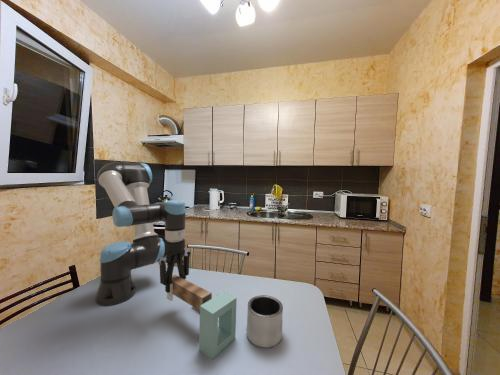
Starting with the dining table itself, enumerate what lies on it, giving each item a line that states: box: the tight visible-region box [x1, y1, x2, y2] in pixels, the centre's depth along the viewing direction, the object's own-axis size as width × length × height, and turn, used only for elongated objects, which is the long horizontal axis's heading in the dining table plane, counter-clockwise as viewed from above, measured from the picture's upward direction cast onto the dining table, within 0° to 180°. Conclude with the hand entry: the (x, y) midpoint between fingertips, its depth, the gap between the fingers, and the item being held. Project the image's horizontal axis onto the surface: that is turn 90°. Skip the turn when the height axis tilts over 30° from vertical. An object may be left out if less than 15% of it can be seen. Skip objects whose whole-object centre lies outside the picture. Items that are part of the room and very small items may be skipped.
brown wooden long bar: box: [171, 274, 213, 311], centre depth 80 cm, size 22×4×5 cm, turn 53°
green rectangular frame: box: [198, 291, 237, 360], centre depth 71 cm, size 6×11×14 cm, turn 143°
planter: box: [246, 294, 284, 348], centre depth 75 cm, size 13×13×11 cm
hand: (175, 296), depth 86 cm, fingers closed on brown wooden long bar, 4 cm apart
